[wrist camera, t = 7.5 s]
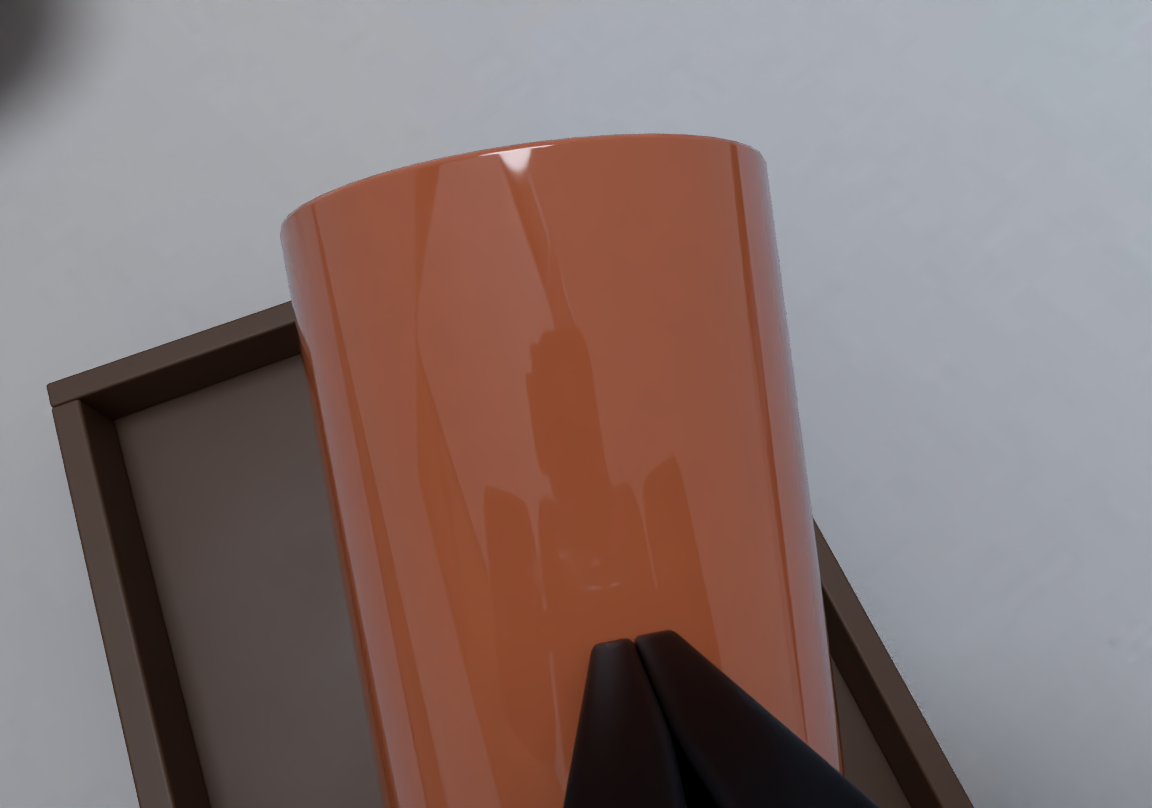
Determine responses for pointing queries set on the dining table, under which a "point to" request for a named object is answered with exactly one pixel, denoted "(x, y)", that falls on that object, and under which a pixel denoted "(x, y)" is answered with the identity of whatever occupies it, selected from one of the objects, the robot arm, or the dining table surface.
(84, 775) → the dining table surface
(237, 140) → the dining table surface
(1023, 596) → the dining table surface
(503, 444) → the orange canister
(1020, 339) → the dining table surface
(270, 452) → the walnut tray
